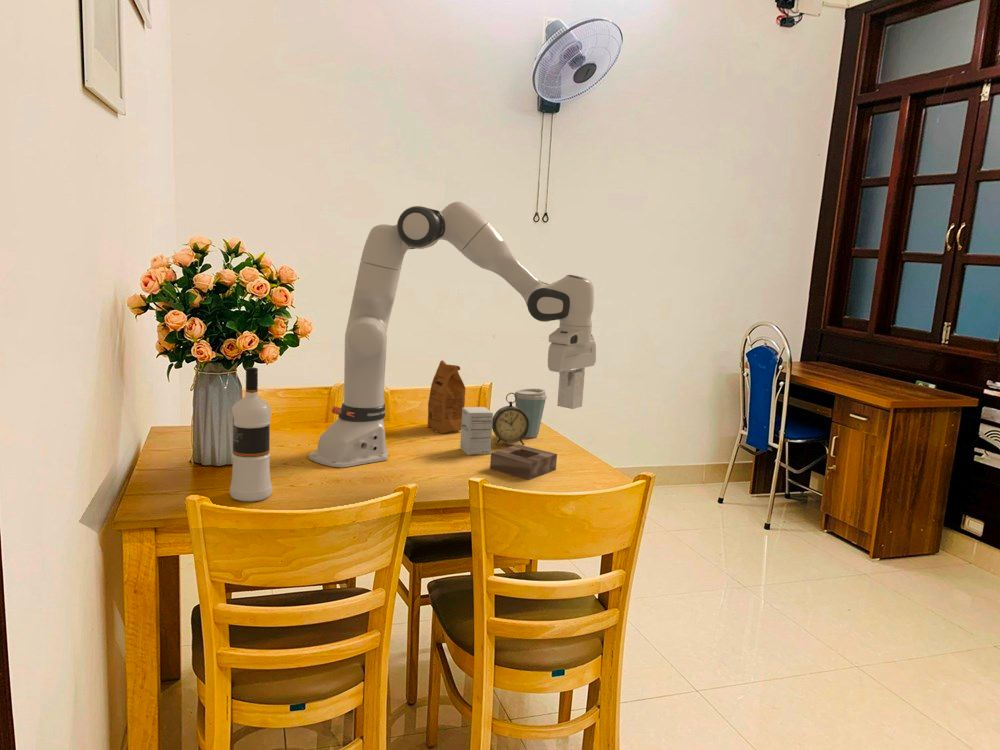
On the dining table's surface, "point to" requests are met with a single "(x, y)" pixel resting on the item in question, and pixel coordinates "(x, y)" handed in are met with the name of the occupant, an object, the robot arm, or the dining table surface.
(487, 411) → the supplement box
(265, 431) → the vodka
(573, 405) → the grey peg
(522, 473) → the pocket block
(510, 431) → the alarm clock
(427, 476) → the dining table surface
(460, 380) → the coffee package
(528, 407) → the disposable coffee cup
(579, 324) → the robot arm
